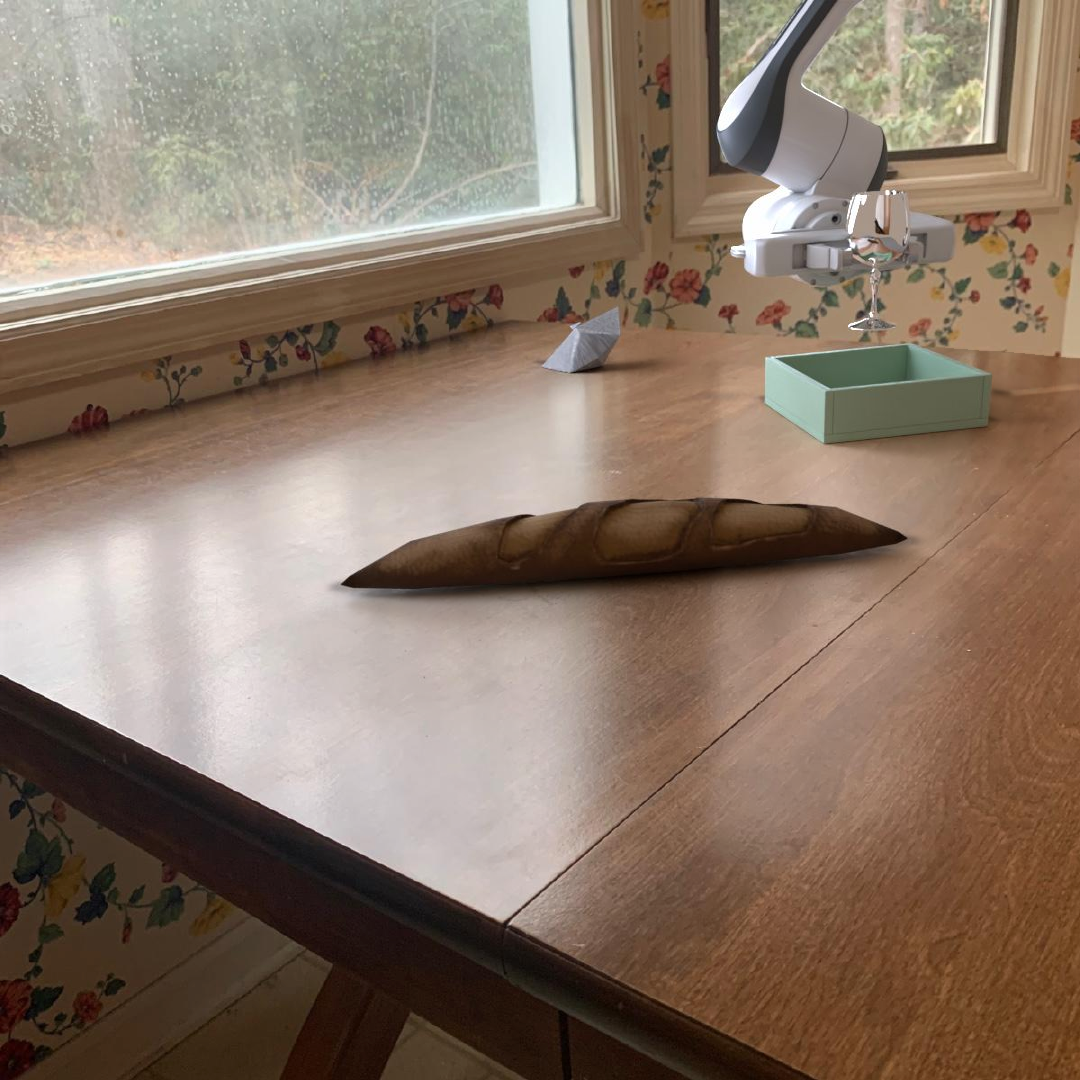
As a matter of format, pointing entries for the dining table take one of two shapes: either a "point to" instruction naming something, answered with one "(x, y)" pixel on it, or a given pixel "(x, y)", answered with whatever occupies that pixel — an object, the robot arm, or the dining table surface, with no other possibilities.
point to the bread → (623, 542)
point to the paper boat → (587, 344)
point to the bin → (876, 392)
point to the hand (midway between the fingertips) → (881, 256)
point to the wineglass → (877, 240)
